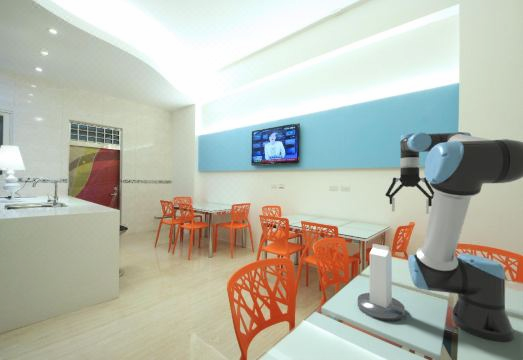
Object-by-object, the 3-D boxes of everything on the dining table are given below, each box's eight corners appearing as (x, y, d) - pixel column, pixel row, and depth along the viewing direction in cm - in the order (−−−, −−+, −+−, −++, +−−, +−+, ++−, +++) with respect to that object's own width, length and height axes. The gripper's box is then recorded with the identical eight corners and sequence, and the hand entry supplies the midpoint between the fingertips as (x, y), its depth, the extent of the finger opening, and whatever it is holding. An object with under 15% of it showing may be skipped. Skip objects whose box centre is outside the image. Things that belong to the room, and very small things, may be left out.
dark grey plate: (414, 315, 86) (414, 308, 86) (383, 325, 80) (383, 318, 80) (377, 296, 101) (377, 290, 101) (348, 303, 94) (348, 297, 94)
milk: (386, 308, 86) (386, 248, 86) (369, 302, 90) (369, 245, 90) (391, 302, 90) (391, 245, 90) (375, 297, 95) (375, 242, 95)
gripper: (443, 166, 106) (443, 213, 106) (381, 168, 121) (381, 209, 121) (443, 165, 100) (443, 215, 100) (379, 167, 115) (379, 211, 115)
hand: (409, 212), depth 111 cm, fingers open, 13 cm apart
